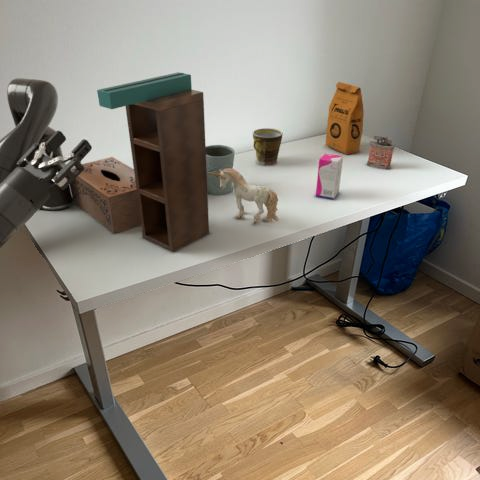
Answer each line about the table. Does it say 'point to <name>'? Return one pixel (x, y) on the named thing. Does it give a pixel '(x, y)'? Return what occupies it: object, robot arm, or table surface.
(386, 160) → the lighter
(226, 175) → the unicorn figurine
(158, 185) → the shelf
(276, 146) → the ceramic cup
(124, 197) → the tissue box cover
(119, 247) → the table surface
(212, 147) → the grey flower pot
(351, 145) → the coffee package
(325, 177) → the supplement box
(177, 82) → the pencil case
